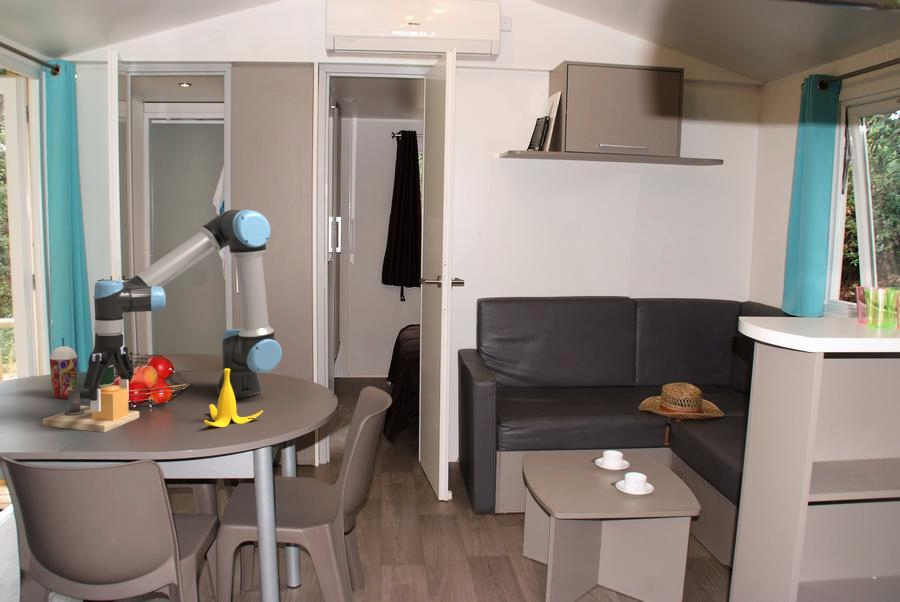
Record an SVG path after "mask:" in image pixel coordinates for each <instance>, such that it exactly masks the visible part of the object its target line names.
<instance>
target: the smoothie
mask: <svg viewBox="0 0 900 602" xmlns="http://www.w3.org/2000/svg"><path fill="white" fill-rule="evenodd" d="M61 342H62V345H60V346H57V347H56V348H54V350H53V351H52V352H51V353H50V356H49V357H48V358H49V366H50V367H49V369H50V370H49V371H50V378H51V388H52V390H51V391H52V394H53V396H54V398H55V399H60V400H62V399H63V400H65V399H66V400H67V399H69V390H72V389H77V378H78V377H77V376H78V373H77V372H78V357H79V356H78V355H77V352H76V351H75V350H74V349H73V348H72V347H70V346H66V345H65V337H62V338H61Z"/></svg>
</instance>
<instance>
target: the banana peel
mask: <svg viewBox="0 0 900 602" xmlns="http://www.w3.org/2000/svg"><path fill="white" fill-rule="evenodd" d="M229 374H230V369H229V368H226V369H224V375H225V379H224V384H223V387H222V389H221V392H220V395H218V396H219V397H218V399H217V406H215V405H214V404H213V403H212V404H209V406H208V408H209V412H210V416H211V419H212V420H213V421H208V420H207V419H204V420H203V422H204V424H205V425H206V426H211V427H216V428H217V427H218V428H225V427H228V425H229V424H230V422H231V420H232V421H233V422H234V424H237V425H239V424H240V425H241V424H246V423H249V422H251V421H253V420H254V419H248V418H255V419H256V418H257V417H259V416H260V415H261V414H263V412H264V410H263V409H262V410H260V411H259V412H256V413H255V414H252V415H249V416H243V417H242V416H239V415H238V413H237V412H238V411H237V401H236V398H235V396H234V392H233V389H232V387H231V384H230V380H229Z"/></svg>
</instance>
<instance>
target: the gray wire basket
mask: <svg viewBox="0 0 900 602" xmlns="http://www.w3.org/2000/svg"><path fill="white" fill-rule="evenodd" d="M128 355H129V359H130V362H131V365H132V368H137V367H136V366H137V365H133V359H134V360H145V364H147V363H148V362H149V361H147V360H149V359H148V358H146V357H134V358H133V357H132V356H133V355H134V356H148V357H150V356H151V357H156V356H157V357H163V354H158V353H157V354H147V353H145V354H141V353H134V354H133V352H130V353H129V352H128ZM135 363H136V364H144V361H140V362H139V361H134V364H135ZM148 364H149V363H148ZM118 375H119V374H118V372H117V370H116V369H115V367H114V377H118Z"/></svg>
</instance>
